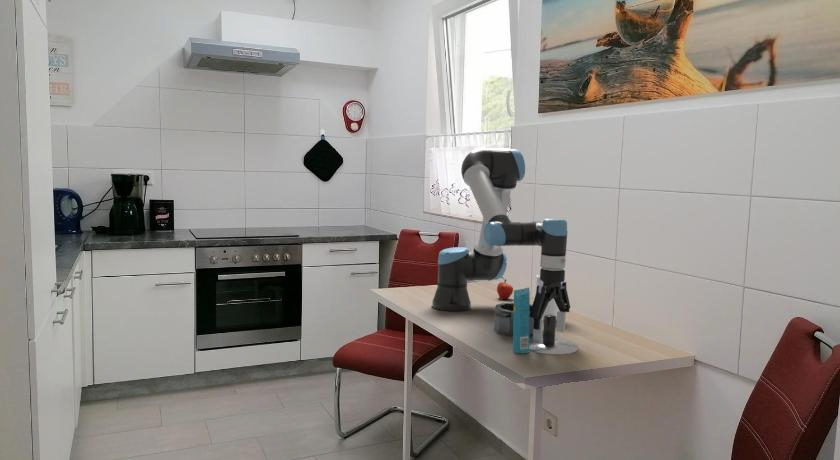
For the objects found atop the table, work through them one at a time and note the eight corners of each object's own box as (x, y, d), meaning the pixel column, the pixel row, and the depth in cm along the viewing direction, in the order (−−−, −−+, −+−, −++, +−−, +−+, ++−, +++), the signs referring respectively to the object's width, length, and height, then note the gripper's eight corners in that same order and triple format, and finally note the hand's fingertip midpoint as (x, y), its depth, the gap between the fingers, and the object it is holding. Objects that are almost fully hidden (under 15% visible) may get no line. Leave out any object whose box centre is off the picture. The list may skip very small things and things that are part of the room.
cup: (544, 321, 225) (546, 278, 223) (530, 316, 232) (532, 274, 230) (561, 320, 228) (564, 277, 227) (547, 315, 236) (549, 273, 234)
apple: (510, 297, 267) (511, 274, 266) (513, 300, 260) (514, 277, 259) (493, 296, 267) (494, 273, 266) (495, 300, 260) (496, 276, 259)
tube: (520, 347, 191) (521, 286, 189) (534, 350, 188) (535, 288, 186) (507, 352, 185) (508, 289, 184) (521, 356, 182) (522, 291, 180)
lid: (508, 346, 194) (509, 315, 193) (539, 335, 207) (540, 307, 206) (559, 359, 181) (560, 326, 180) (588, 347, 195) (590, 317, 194)
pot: (519, 340, 199) (521, 316, 198) (481, 331, 209) (482, 308, 208) (553, 329, 214) (554, 307, 213) (515, 321, 224) (516, 299, 223)
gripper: (541, 274, 180) (538, 345, 182) (583, 266, 198) (579, 331, 200) (519, 270, 185) (516, 340, 187) (562, 263, 203) (559, 326, 205)
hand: (549, 335), depth 194 cm, fingers open, 13 cm apart
